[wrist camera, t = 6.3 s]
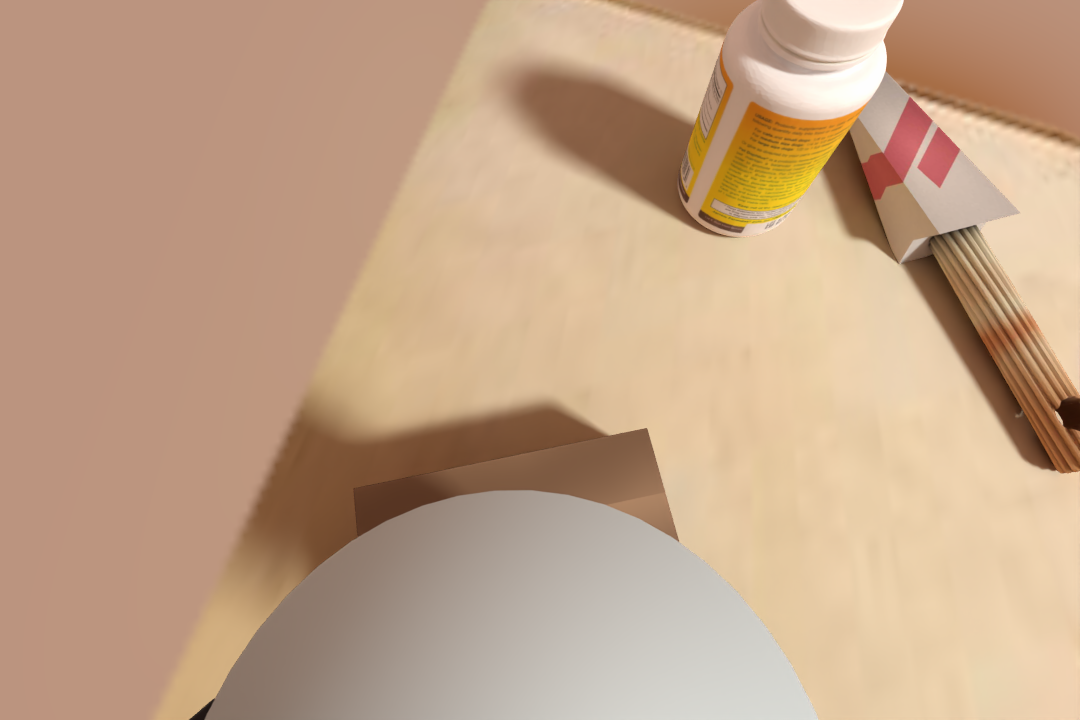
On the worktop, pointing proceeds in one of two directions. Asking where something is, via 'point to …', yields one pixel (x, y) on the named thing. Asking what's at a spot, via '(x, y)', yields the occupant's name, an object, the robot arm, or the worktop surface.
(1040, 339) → the paintbrush
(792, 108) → the supplement bottle
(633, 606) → the peg
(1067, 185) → the worktop surface
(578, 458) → the brown holed block
